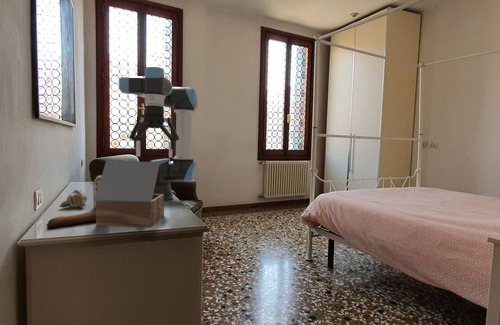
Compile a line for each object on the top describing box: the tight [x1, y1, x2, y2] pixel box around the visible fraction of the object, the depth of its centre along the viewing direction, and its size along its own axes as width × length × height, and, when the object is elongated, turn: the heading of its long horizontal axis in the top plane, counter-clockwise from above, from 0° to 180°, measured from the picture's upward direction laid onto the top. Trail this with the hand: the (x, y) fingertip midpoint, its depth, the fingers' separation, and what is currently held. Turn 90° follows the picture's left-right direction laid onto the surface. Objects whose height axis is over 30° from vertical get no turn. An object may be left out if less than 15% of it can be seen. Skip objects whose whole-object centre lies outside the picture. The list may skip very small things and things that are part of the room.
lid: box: [94, 160, 159, 202], centre depth 124 cm, size 18×22×1 cm
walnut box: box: [95, 194, 165, 228], centre depth 129 cm, size 18×22×10 cm
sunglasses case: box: [45, 212, 96, 230], centre depth 122 cm, size 18×7×7 cm
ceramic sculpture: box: [59, 189, 88, 209], centre depth 151 cm, size 11×9×15 cm
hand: (154, 156), depth 126 cm, fingers open, 13 cm apart
